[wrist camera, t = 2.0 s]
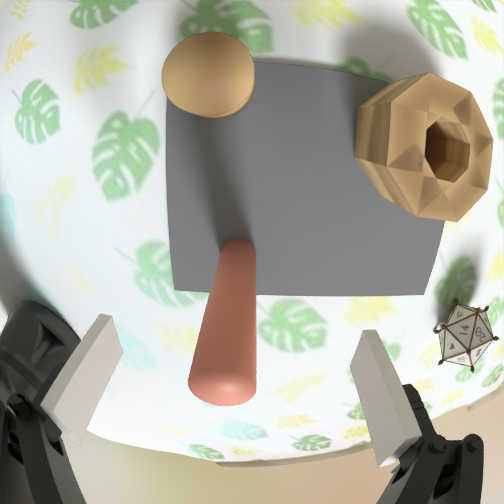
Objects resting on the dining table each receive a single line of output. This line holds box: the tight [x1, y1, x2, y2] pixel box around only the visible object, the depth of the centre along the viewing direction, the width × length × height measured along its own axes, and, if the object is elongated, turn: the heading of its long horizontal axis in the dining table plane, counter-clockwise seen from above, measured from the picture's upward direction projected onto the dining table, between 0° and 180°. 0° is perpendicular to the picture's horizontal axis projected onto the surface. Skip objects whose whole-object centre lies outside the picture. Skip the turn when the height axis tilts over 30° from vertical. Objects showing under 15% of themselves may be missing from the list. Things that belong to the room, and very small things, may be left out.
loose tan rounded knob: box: [162, 32, 254, 119], centre depth 16 cm, size 6×6×5 cm
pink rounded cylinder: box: [188, 238, 256, 406], centre depth 17 cm, size 3×3×14 cm
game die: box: [433, 298, 499, 373], centre depth 24 cm, size 9×8×10 cm
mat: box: [166, 62, 445, 296], centre depth 22 cm, size 26×20×1 cm
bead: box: [354, 73, 493, 222], centre depth 17 cm, size 10×10×6 cm
